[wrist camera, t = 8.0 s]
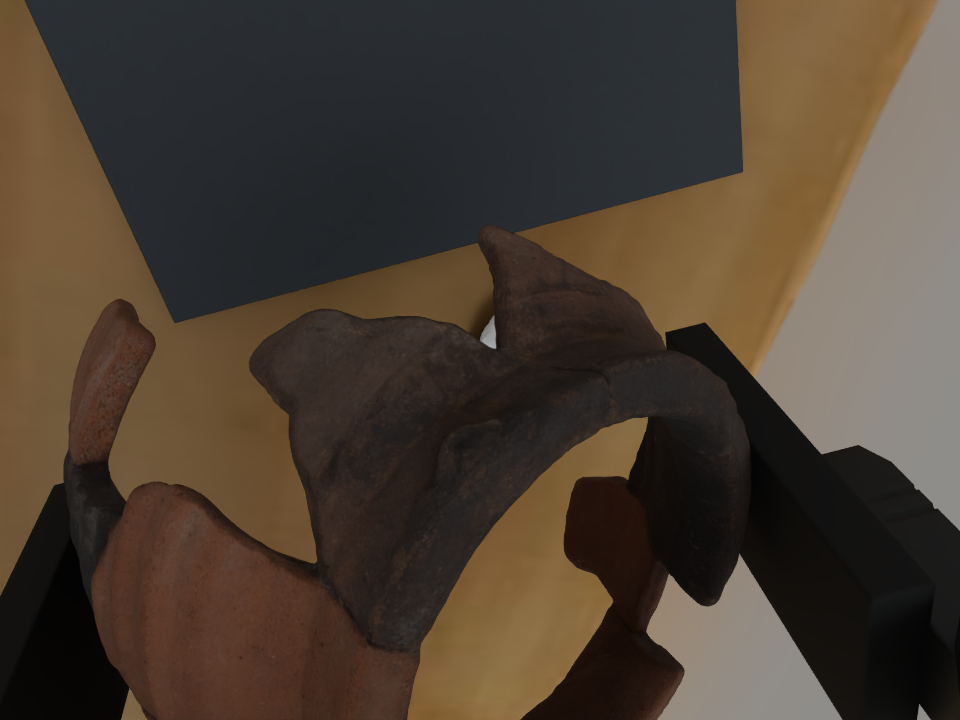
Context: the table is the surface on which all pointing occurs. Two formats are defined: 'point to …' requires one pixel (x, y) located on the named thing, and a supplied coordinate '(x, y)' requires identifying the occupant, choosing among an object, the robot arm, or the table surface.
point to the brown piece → (411, 501)
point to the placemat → (383, 124)
